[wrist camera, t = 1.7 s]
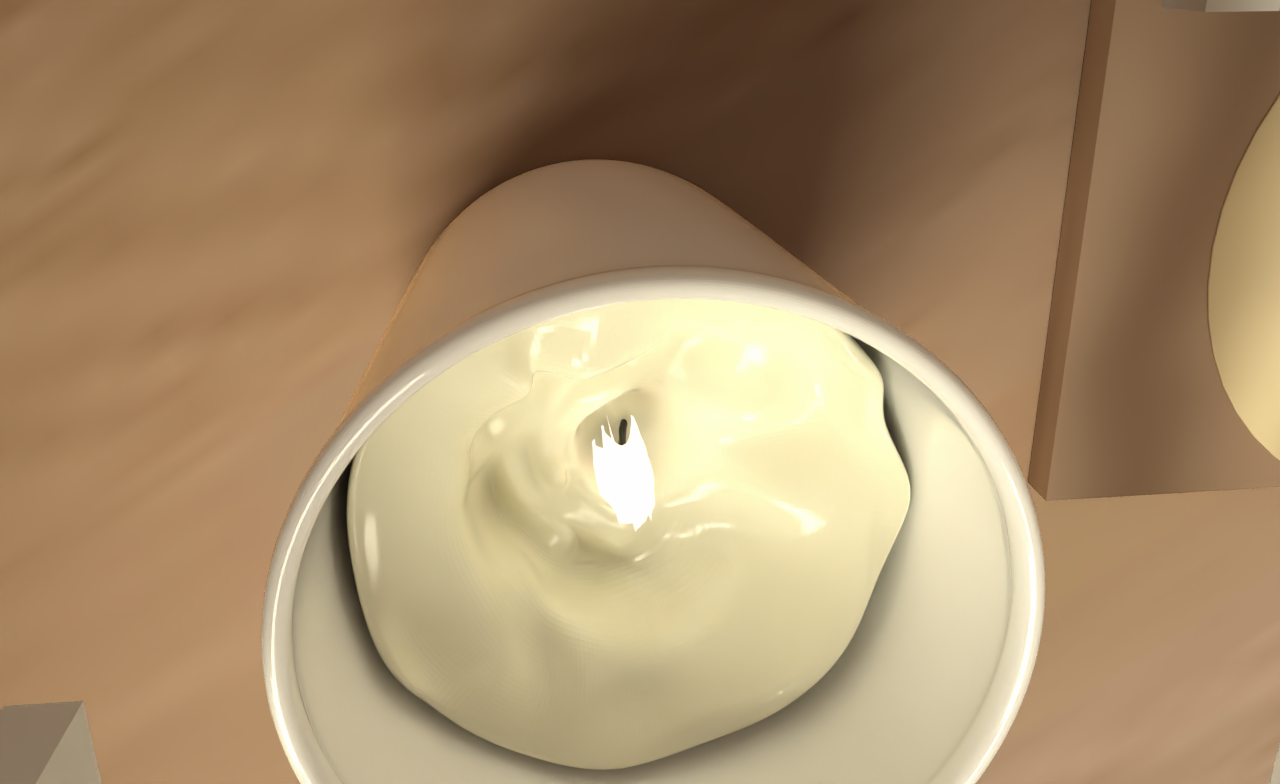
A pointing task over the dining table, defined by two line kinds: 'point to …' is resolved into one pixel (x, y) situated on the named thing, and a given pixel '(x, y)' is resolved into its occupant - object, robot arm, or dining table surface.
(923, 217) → the dining table surface
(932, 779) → the candle holder
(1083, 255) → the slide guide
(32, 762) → the robot arm
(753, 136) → the dining table surface
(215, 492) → the dining table surface
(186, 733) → the dining table surface
